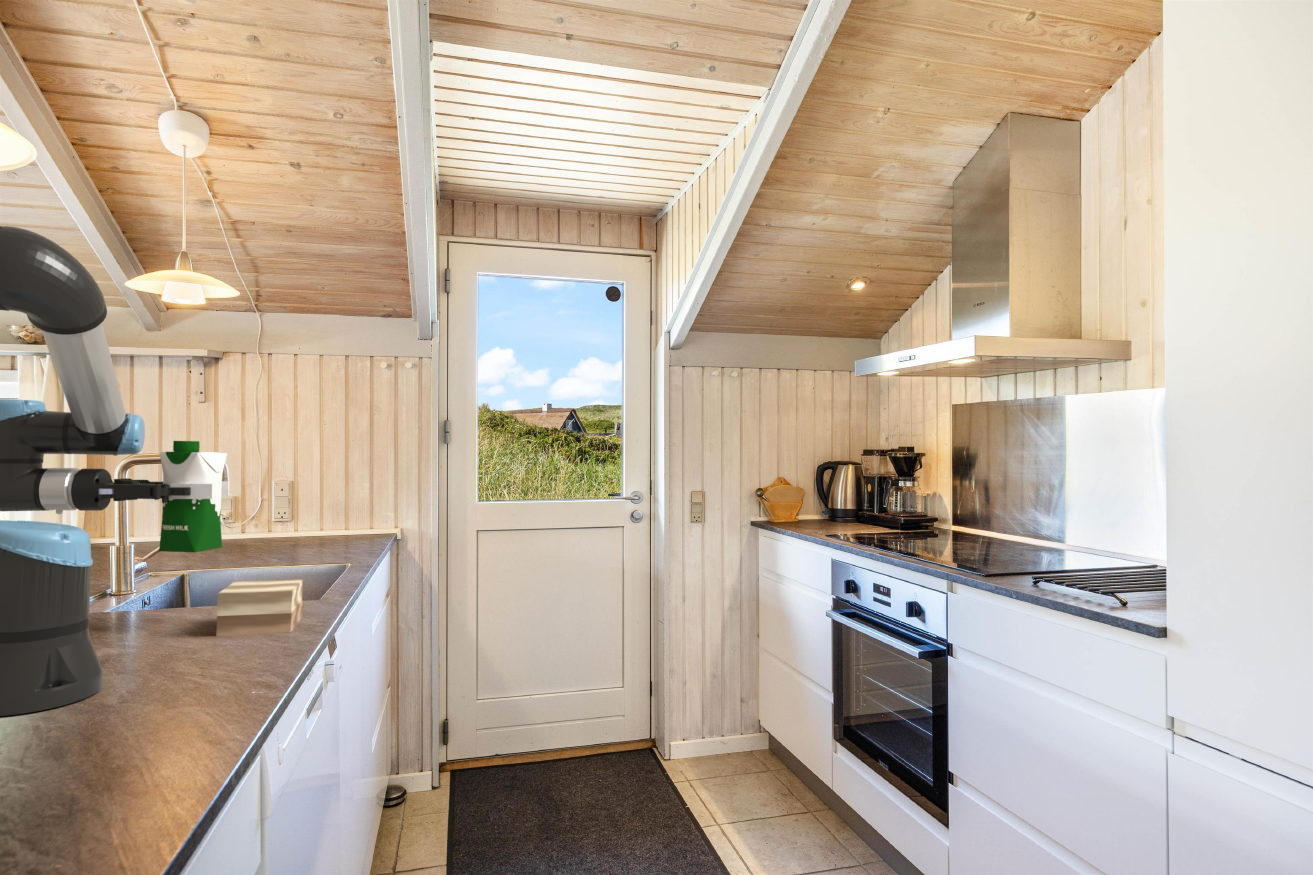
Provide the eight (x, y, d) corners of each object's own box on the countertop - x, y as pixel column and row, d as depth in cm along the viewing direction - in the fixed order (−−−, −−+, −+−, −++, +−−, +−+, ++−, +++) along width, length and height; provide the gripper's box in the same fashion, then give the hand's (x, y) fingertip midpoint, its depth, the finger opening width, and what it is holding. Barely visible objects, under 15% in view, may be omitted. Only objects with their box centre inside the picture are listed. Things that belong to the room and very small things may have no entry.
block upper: (291, 612, 133) (292, 591, 133) (216, 616, 129) (217, 593, 129) (302, 599, 144) (302, 579, 144) (233, 602, 141) (234, 581, 141)
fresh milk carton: (150, 552, 130) (153, 440, 130) (187, 545, 139) (191, 441, 139) (195, 553, 129) (199, 441, 130) (230, 547, 138) (233, 442, 139)
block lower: (290, 635, 133) (291, 613, 133) (216, 638, 129) (216, 615, 129) (302, 619, 144) (303, 599, 144) (235, 622, 141) (235, 601, 141)
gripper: (106, 506, 140) (237, 505, 146) (45, 515, 119) (200, 514, 125) (107, 467, 140) (238, 468, 146) (46, 469, 119) (202, 471, 125)
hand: (220, 489), depth 136 cm, fingers closed on fresh milk carton, 9 cm apart
